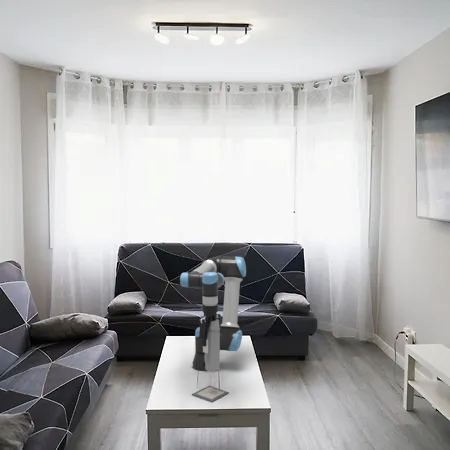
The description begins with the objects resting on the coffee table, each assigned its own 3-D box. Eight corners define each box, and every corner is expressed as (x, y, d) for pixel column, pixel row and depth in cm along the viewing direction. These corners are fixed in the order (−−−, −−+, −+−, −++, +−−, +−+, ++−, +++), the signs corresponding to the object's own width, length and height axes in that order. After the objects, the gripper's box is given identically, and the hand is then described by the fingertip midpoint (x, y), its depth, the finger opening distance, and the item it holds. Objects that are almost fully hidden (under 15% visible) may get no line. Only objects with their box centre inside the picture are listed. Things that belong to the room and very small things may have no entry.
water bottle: (211, 365, 229) (211, 317, 228) (223, 369, 224) (223, 319, 223) (199, 371, 222) (199, 320, 221) (211, 374, 217) (211, 323, 216)
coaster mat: (209, 386, 233) (209, 385, 233) (228, 393, 225) (228, 392, 225) (191, 395, 223) (191, 393, 223) (212, 402, 214) (212, 401, 214)
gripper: (216, 299, 231) (216, 344, 232) (191, 306, 216) (191, 354, 217) (228, 301, 226) (228, 347, 227) (202, 309, 211) (203, 357, 212)
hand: (210, 350), depth 222 cm, fingers open, 6 cm apart
